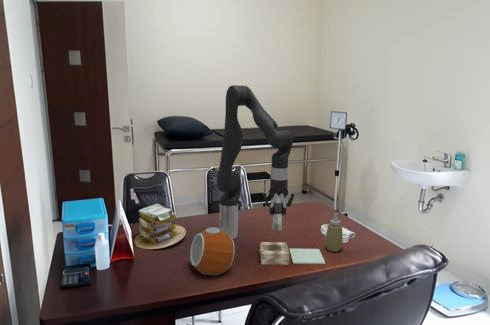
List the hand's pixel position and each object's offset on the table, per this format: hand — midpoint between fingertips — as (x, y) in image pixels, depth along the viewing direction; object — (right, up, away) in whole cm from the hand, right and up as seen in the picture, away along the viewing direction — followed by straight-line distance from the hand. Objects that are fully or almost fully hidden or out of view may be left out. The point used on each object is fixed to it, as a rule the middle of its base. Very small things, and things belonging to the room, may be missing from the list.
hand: (277, 215), depth 172 cm
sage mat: (+14, -20, +7) cm, 25 cm away
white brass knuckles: (+33, -15, +32) cm, 48 cm away
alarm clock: (-28, -22, -6) cm, 36 cm away
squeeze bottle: (+28, -18, +15) cm, 36 cm away
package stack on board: (-56, -15, +22) cm, 62 cm away
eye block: (-1, -20, +4) cm, 20 cm away
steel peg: (0, -6, +1) cm, 6 cm away
